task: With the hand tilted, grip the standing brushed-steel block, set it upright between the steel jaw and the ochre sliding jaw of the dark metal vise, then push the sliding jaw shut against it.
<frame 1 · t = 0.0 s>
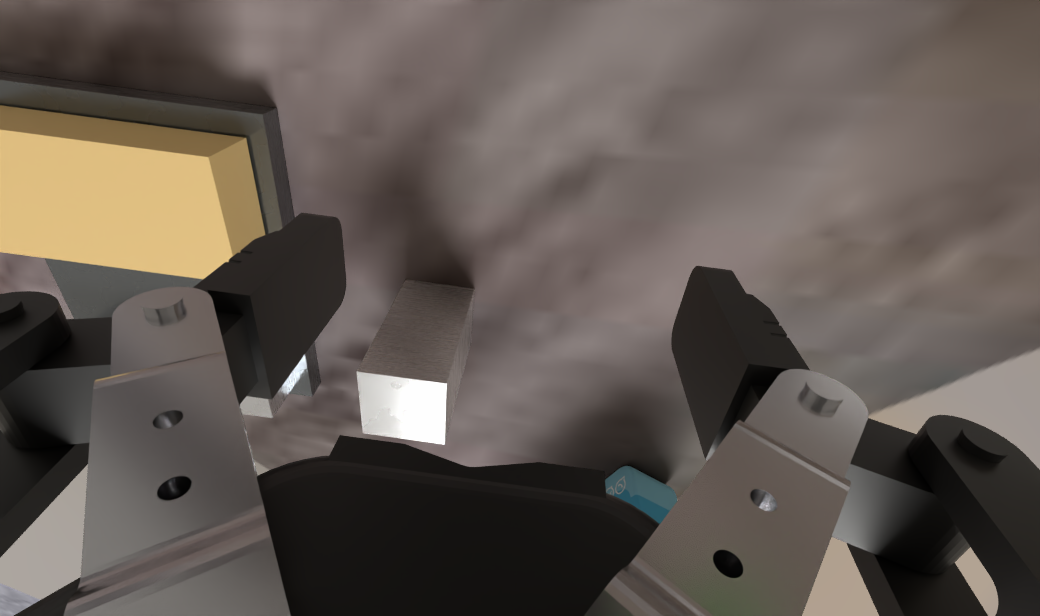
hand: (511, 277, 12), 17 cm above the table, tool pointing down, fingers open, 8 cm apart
sliding jaw: (113, 195, 27), point 3 cm above the table, slide at 0.0 cm
data package: (606, 501, 44), on the table
vise base: (188, 279, 34), on the table
steel block: (439, 312, 34), on the table
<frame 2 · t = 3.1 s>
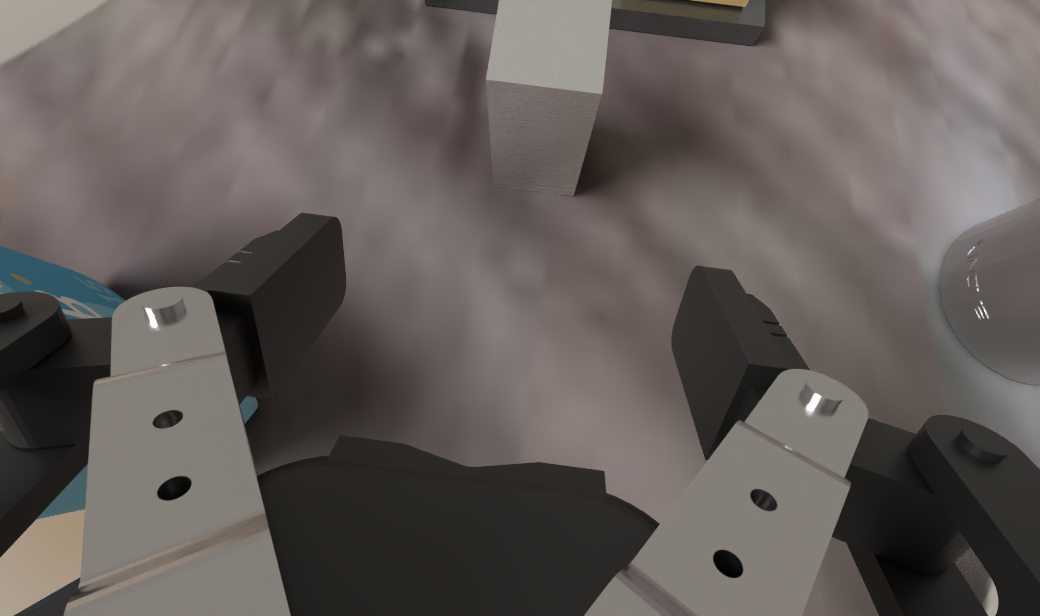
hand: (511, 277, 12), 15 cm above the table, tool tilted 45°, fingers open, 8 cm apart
data package: (154, 377, 26), on the table
steel block: (538, 155, 28), on the table
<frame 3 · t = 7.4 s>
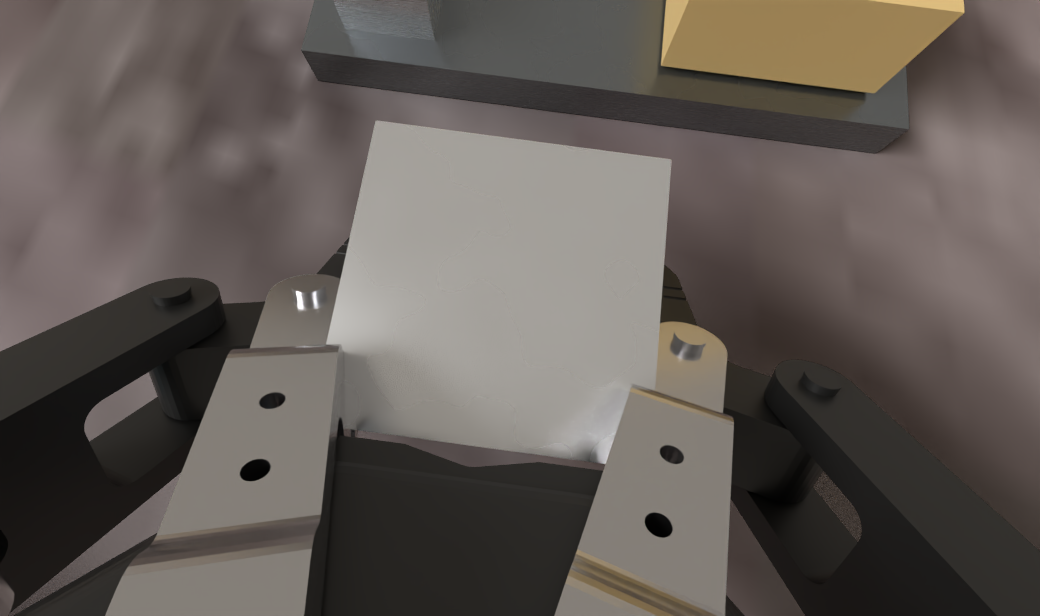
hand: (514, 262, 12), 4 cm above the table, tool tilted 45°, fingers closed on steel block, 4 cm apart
steel block: (505, 359, 16), on the table, touching gripper
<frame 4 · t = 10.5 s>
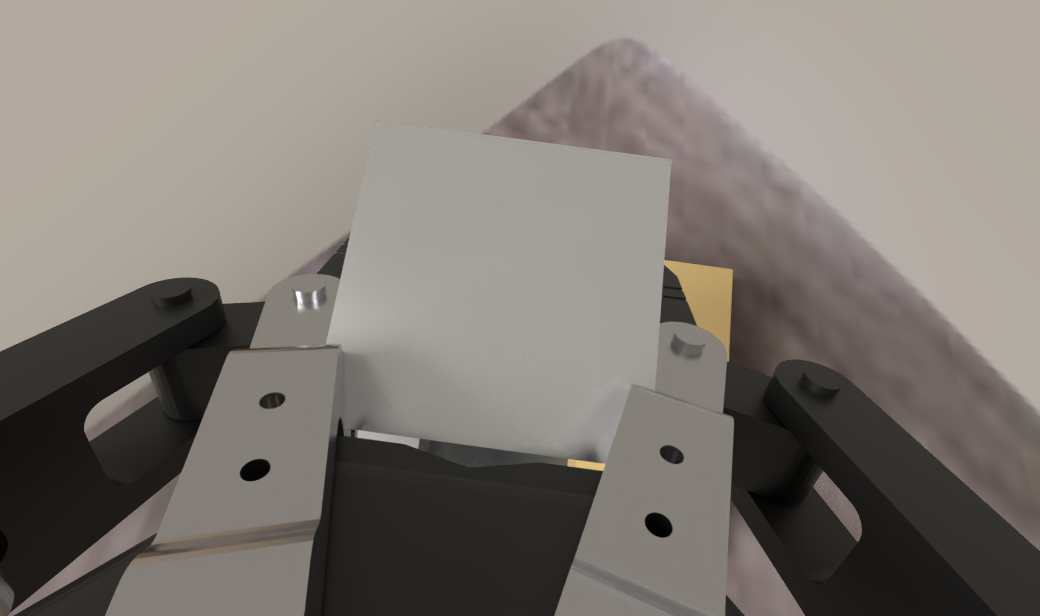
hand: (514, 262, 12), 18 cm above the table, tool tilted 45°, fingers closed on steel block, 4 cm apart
sliding jaw: (646, 397, 26), point 3 cm above the table, slide at 0.0 cm
vise base: (508, 382, 29), on the table
steel block: (505, 359, 16), point 14 cm above the table, touching gripper
when the fingers open (6 cm above the table, at t = 13.6 s): steel block stays where it is, resting on vise base.
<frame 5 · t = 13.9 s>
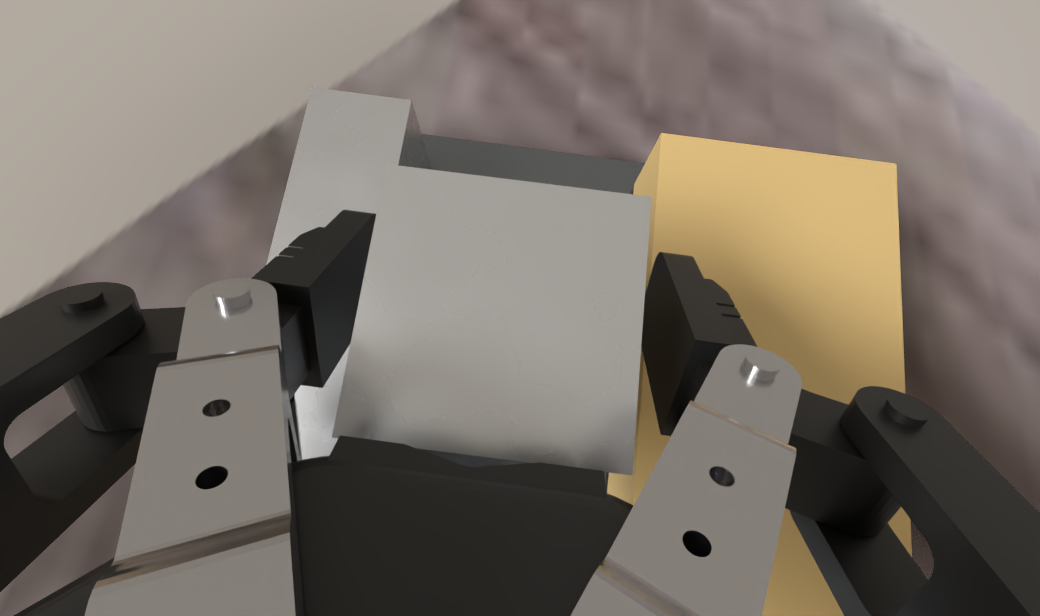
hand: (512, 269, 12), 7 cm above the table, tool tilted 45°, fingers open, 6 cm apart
sliding jaw: (745, 388, 15), point 3 cm above the table, slide at 0.0 cm
vise base: (505, 367, 18), on the table
steel block: (505, 368, 17), point 1 cm above the table, touching vise base
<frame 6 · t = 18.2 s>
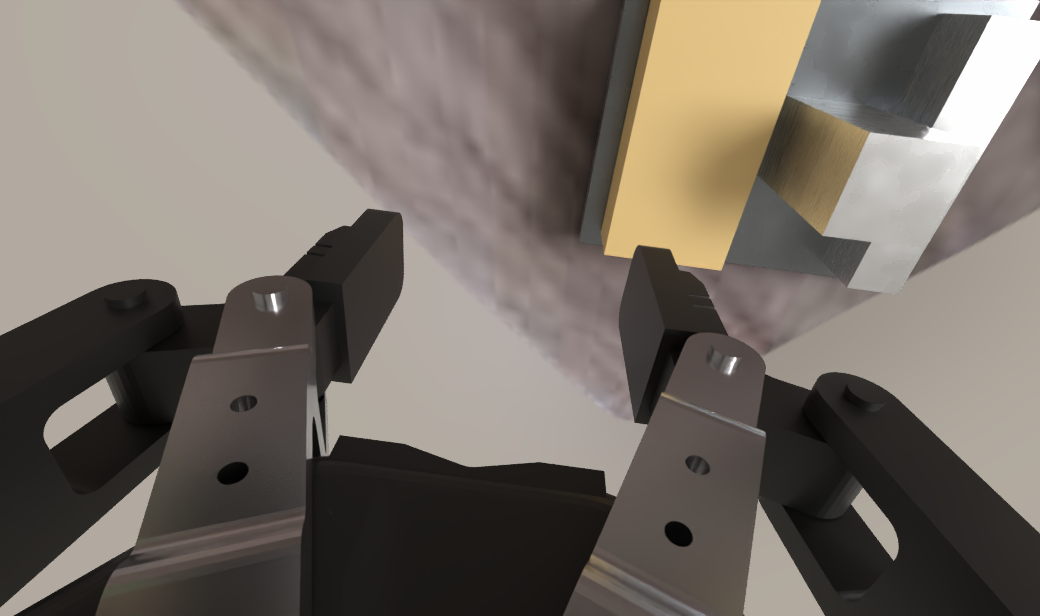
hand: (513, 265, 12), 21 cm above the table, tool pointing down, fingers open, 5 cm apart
sliding jaw: (691, 135, 27), point 3 cm above the table, slide at 0.0 cm
vise base: (799, 138, 30), on the table
steel block: (809, 141, 29), point 1 cm above the table, touching vise base
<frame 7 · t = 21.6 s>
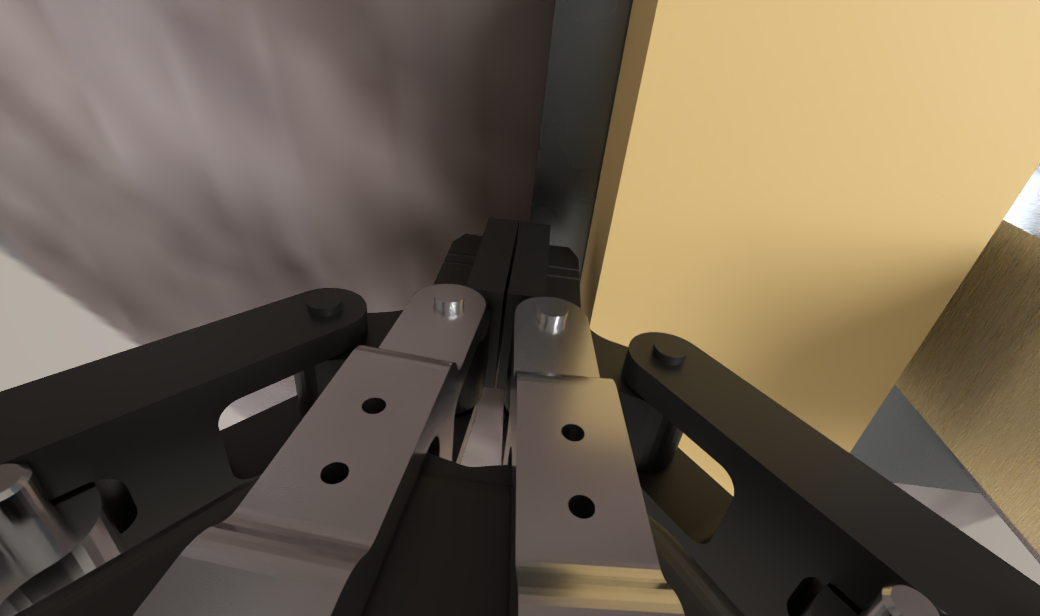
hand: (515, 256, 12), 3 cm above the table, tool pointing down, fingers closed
sliding jaw: (736, 282, 12), point 3 cm above the table, slide at 0.4 cm, touching gripper
vise base: (935, 255, 15), on the table
steel block: (972, 274, 13), point 1 cm above the table, touching vise base
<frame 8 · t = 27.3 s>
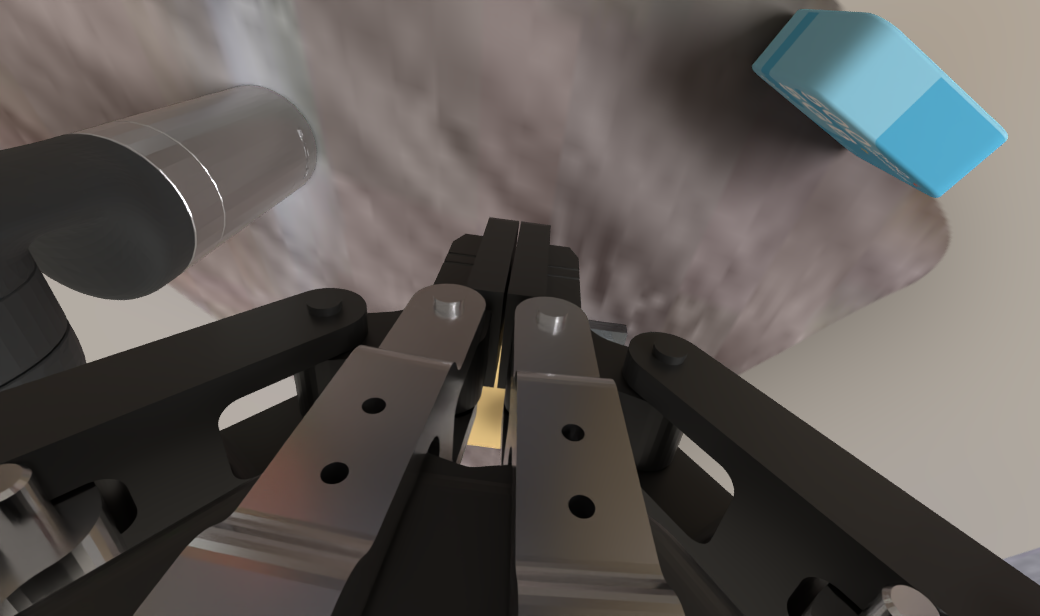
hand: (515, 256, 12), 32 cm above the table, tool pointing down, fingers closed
sliding jaw: (496, 389, 53), point 3 cm above the table, slide at 3.0 cm, touching steel block
data package: (823, 84, 39), on the table
vise base: (538, 374, 55), on the table
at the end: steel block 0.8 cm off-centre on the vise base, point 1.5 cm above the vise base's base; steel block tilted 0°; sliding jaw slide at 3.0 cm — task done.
